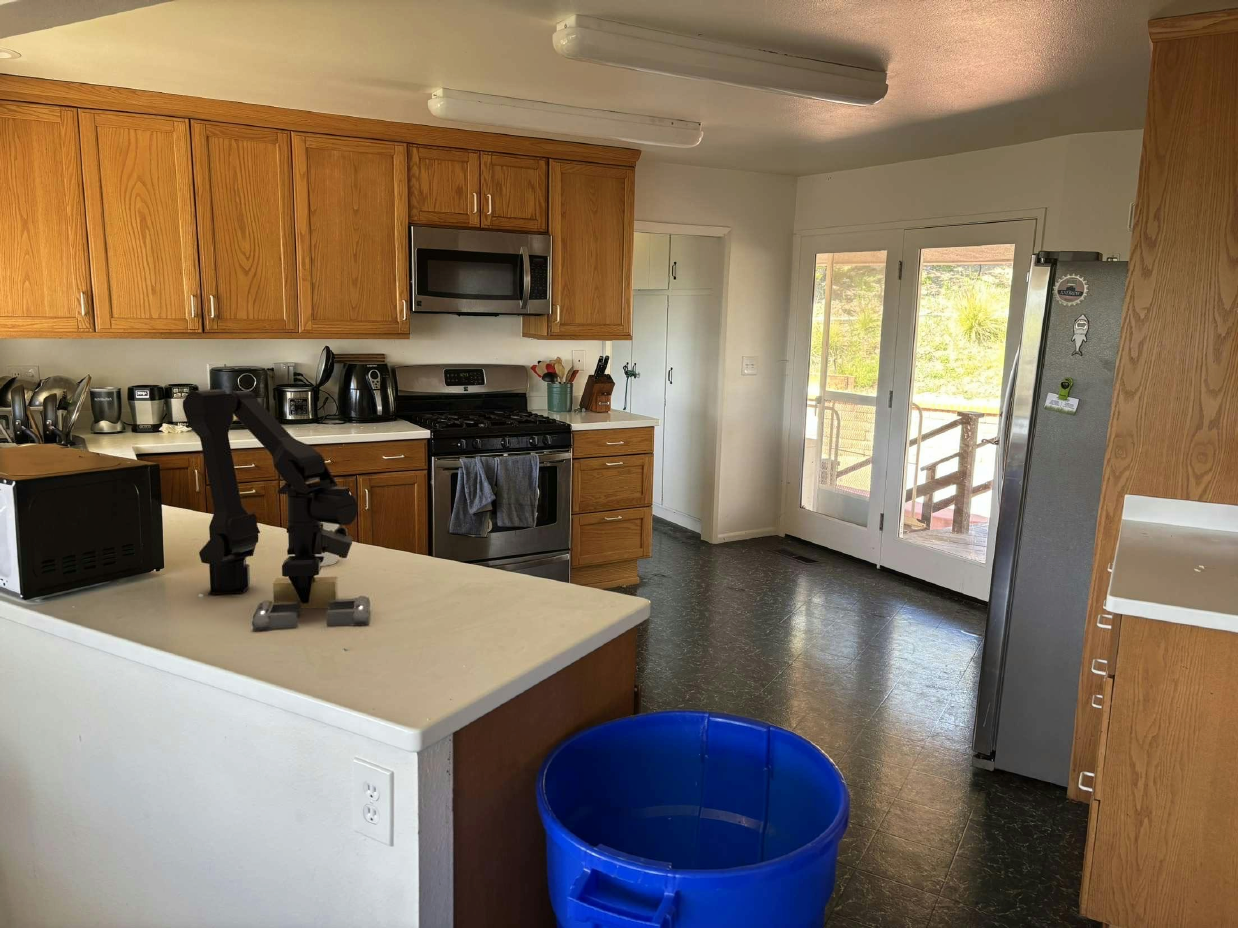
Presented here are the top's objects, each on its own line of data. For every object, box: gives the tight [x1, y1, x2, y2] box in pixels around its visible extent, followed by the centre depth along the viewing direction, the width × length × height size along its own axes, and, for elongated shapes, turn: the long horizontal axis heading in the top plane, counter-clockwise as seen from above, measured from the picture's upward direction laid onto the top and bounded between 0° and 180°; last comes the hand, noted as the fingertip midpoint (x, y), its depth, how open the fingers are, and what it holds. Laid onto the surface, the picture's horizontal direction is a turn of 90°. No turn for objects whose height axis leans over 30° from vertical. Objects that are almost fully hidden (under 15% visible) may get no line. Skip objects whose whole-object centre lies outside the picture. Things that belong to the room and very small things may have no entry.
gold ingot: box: [272, 576, 339, 609], centre depth 163 cm, size 11×3×5 cm, turn 101°
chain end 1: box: [251, 599, 302, 632], centre depth 154 cm, size 7×8×3 cm
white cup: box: [316, 522, 340, 567], centre depth 191 cm, size 8×8×10 cm
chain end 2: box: [326, 595, 371, 627], centre depth 157 cm, size 7×8×3 cm
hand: (306, 599), depth 163 cm, fingers closed on gold ingot, 3 cm apart
